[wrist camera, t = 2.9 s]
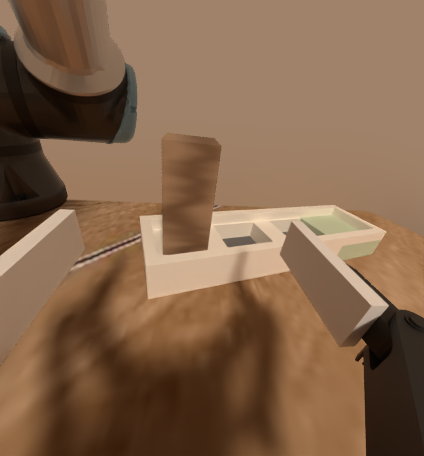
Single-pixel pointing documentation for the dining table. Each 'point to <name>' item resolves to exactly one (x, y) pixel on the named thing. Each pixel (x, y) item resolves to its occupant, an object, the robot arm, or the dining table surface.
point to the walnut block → (188, 191)
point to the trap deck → (248, 246)
